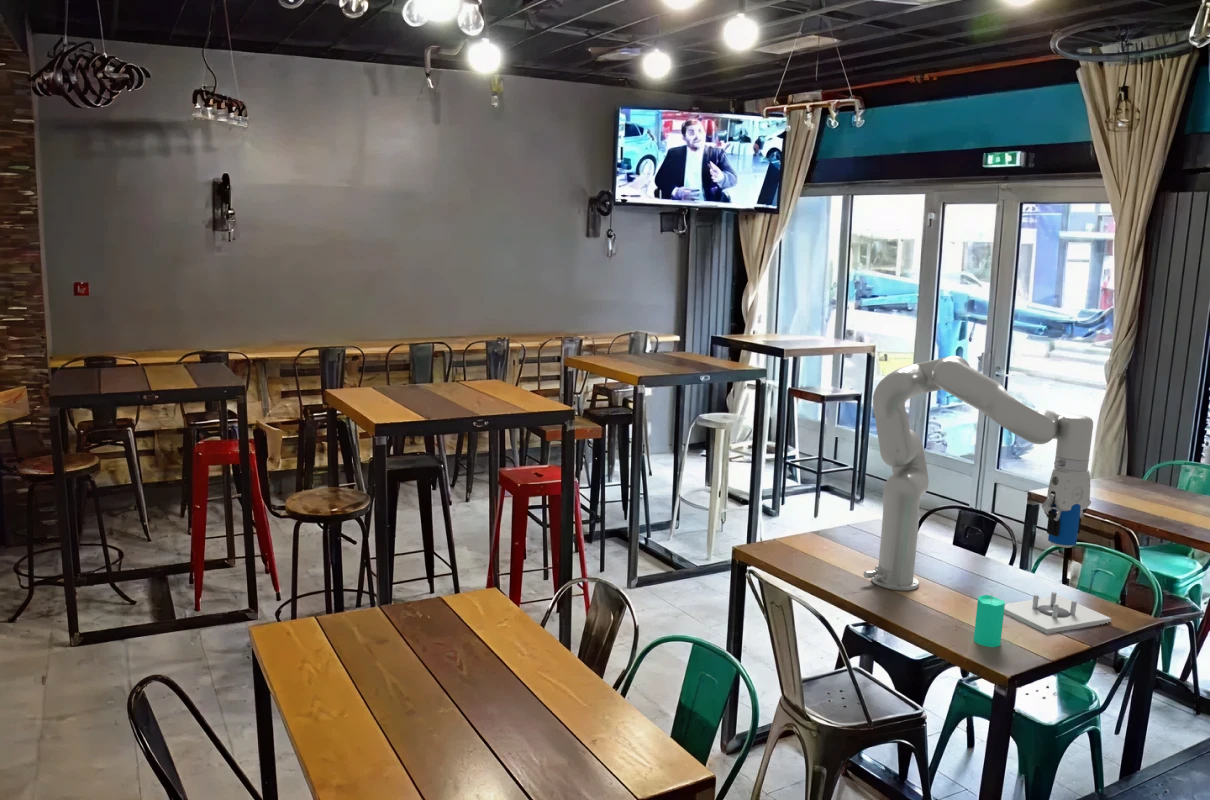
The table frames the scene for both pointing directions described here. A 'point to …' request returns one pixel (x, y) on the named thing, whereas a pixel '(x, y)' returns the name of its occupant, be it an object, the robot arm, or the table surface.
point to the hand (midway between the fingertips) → (1063, 532)
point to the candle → (989, 621)
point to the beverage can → (1067, 528)
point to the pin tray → (1054, 614)
